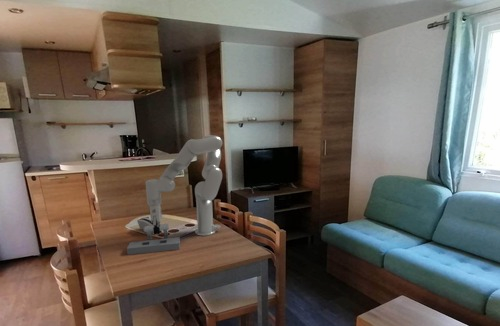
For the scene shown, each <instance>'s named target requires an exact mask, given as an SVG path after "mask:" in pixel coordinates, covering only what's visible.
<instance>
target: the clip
mask: <svg viewBox="0 0 500 326" xmlns="http://www.w3.org/2000/svg"><path fill="white" fill-rule="evenodd" d="M159 229H160V231H161V230H162V233H163V239H167V238H169V234H168V232H169V230H170V224H169V223H163V224H160V225H159ZM152 231H153V225H151V226H145V227H144V230H143V232H144V233H146V241H147V240H153V238H152V233H151V232H152Z"/></svg>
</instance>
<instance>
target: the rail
mask: <svg viewBox="0 0 500 326" xmlns="http://www.w3.org/2000/svg"><path fill="white" fill-rule="evenodd" d="M180 238H181V237H180V236H179V237H178V236H177V237H170V238H169V237H168V238H167V239H164V238H160V239H152V240H147V239H146V240H139V241H138V240H137V241H131V242H129V244H128V246H127V247H126V255H127V256H130V255H140V254H149V253H159V252H167V251H168V252H169V251H179V250H180V246H181V239H180Z"/></svg>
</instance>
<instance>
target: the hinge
mask: <svg viewBox="0 0 500 326" xmlns="http://www.w3.org/2000/svg"><path fill="white" fill-rule="evenodd" d="M136 222H137V224H138V227H139V229H140V230H141V229H143V230H142V231H144V227H145V226H151V225H153V223H151V218H149V217H145V216H144V217H141V218H140V219H138V220H137V221H136ZM152 233H154V231H152V232H151V234H152ZM160 233H163V230H161V232H160Z"/></svg>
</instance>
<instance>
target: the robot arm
mask: <svg viewBox="0 0 500 326" xmlns="http://www.w3.org/2000/svg"><path fill="white" fill-rule="evenodd" d="M222 146H223V140H222V138H221V137H220V136H218V135H214V134H213V135H212V134H208V135H206V136H204V137H203V138H200V139H193V138H192V139H188V140H187V141H186V142H185V144H184V145H183V146H182V148H181V150H180V151H179V153H178V154H177V155H176V157H175V158H174V160H173V161H171V162H170V164H169V165H168V166H167V167H166V168H165V169H164V171H163V173H162V174H161V175H160V177H159V179H157V178H153V179H148V180H146V181H145V191H146V202H147V206H149V213H150V219H151V223H153V231H154V234H153V235H155V234H157V235H159V234H160V233H161V232H160V229H159V225H160V223H161V222H162V219H163V218H162V217H163V214H162V208H161V205H162V193H168V192H172V191H174V190H175V187H176V183H175V181H174V180H175V178H176V177H177V175H178V174H179V173H181V172H182V171H184V170H186V169H187V168H188V167H189V165H190V164H191V163H192V161H193V160H194V158H195V157H196V156H199V155H204V154H207V155H206V159H205V162H204V165H203V168H202V171H201V176H202V178H203V179H204V181H199V182H198V183H197V184H196V185H195V187H194V196H195V202H196V220H197V221H196V229H195V230H194V232H195V235H198V236H202V237H203V236H211V235H213V234H215V233H216V230H217V229H221V227H222V226H221V224H220V225H219V224H214V221H213V220H214V219H213V218H214V217H213V200H214V199H215V198H216V197H217V195H218V192H219V189H220V186H221V184H222V180H223V172H222V169H221V168H220V164H221V159H222V151H221V148H222Z"/></svg>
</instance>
